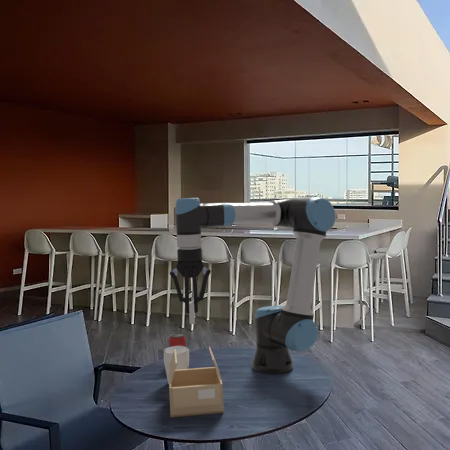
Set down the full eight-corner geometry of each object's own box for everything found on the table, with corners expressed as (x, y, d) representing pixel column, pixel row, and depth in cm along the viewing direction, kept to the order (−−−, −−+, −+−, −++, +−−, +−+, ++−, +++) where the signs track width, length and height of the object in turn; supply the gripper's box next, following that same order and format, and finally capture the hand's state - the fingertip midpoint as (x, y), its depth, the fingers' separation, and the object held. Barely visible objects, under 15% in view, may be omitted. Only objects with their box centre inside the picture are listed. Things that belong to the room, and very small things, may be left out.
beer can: (172, 361, 202) (171, 332, 201) (188, 362, 201) (187, 332, 200) (168, 367, 195) (166, 337, 194) (184, 367, 194) (183, 337, 194)
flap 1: (170, 368, 165) (175, 349, 165) (171, 383, 152) (177, 363, 151) (168, 368, 165) (174, 348, 165) (169, 383, 152) (175, 362, 151)
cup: (186, 388, 174) (184, 354, 173) (161, 387, 176) (159, 353, 175) (193, 378, 183) (191, 346, 182) (169, 377, 184) (167, 345, 184)
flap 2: (216, 364, 167) (210, 346, 166) (221, 379, 153) (214, 359, 153) (215, 364, 167) (208, 346, 166) (220, 379, 153) (212, 360, 153)
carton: (217, 393, 169) (217, 366, 168) (223, 413, 153) (222, 384, 152) (169, 397, 167) (168, 370, 166) (170, 418, 151) (169, 388, 150)
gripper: (209, 245, 161) (211, 318, 163) (167, 247, 160) (170, 321, 161) (211, 248, 154) (214, 324, 155) (168, 250, 152) (171, 327, 154)
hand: (192, 323), depth 158 cm, fingers closed
